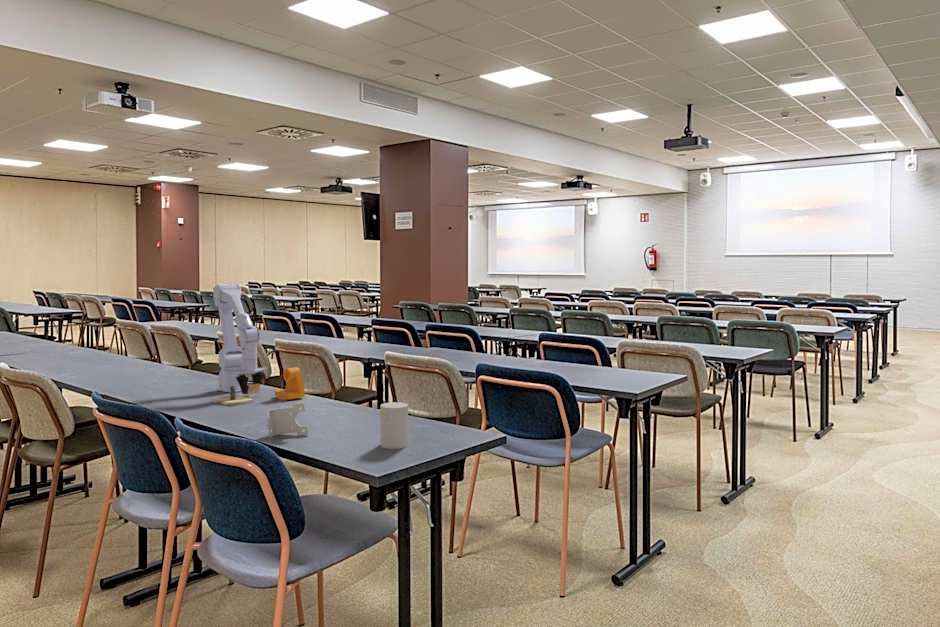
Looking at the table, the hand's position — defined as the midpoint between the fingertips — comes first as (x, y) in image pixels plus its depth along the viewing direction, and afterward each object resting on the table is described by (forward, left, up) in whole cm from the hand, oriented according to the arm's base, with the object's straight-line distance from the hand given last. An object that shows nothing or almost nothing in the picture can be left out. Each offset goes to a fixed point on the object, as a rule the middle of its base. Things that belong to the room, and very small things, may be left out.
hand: (250, 392), depth 278 cm
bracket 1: (+15, +7, -2) cm, 17 cm away
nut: (0, 0, -1) cm, 1 cm away
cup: (+94, -21, -2) cm, 96 cm away
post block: (+4, -11, -1) cm, 12 cm away
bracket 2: (+61, -33, -2) cm, 69 cm away
